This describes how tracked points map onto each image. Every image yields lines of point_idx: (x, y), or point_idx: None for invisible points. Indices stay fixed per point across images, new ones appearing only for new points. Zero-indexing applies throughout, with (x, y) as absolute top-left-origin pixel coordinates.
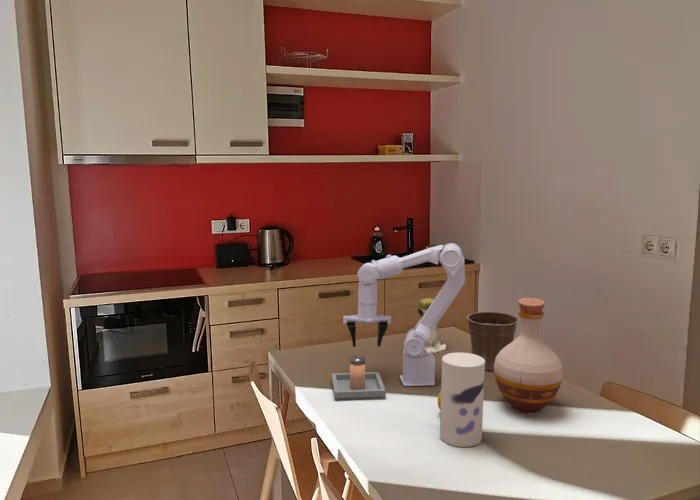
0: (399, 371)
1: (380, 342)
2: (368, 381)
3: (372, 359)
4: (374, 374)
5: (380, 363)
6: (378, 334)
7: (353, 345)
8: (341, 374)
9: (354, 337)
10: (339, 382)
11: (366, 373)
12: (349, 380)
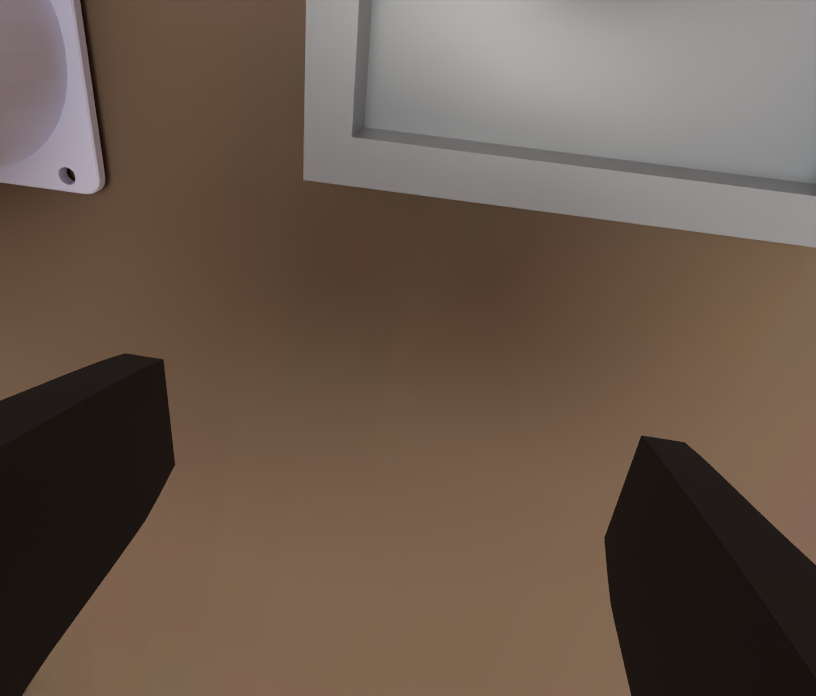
0: (106, 320)
1: (60, 382)
2: (457, 60)
3: (300, 580)
4: (362, 135)
5: (250, 505)
6: (10, 616)
7: (699, 457)
8: (776, 196)
9: (786, 598)
10: (810, 102)
11: (456, 164)
12: (665, 142)
